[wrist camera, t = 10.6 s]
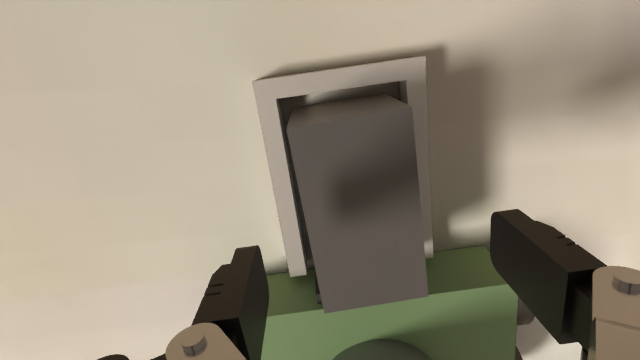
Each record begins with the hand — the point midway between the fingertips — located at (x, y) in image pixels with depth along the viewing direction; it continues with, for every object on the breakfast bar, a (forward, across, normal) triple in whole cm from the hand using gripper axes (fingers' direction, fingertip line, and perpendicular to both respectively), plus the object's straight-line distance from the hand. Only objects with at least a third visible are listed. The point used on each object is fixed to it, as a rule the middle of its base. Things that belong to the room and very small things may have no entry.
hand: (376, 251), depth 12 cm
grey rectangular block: (+9, 0, 0) cm, 9 cm away
